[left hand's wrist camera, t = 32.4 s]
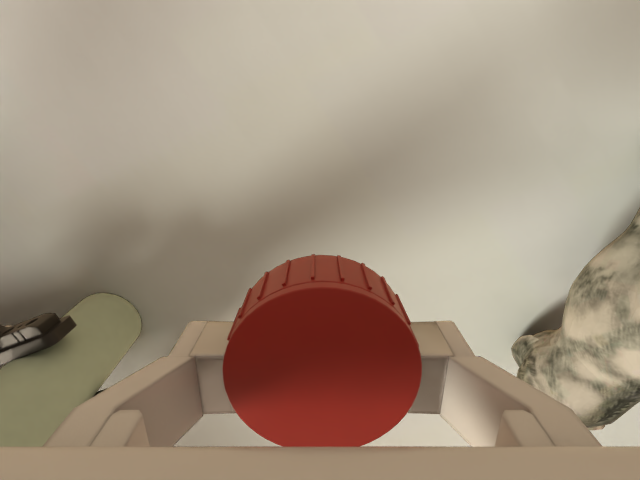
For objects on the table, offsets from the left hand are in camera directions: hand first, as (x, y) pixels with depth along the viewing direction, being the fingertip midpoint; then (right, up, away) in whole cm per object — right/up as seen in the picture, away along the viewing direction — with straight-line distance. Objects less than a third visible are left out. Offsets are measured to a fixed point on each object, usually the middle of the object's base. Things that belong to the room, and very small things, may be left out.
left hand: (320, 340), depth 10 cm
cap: (0, 0, -2) cm, 2 cm away
